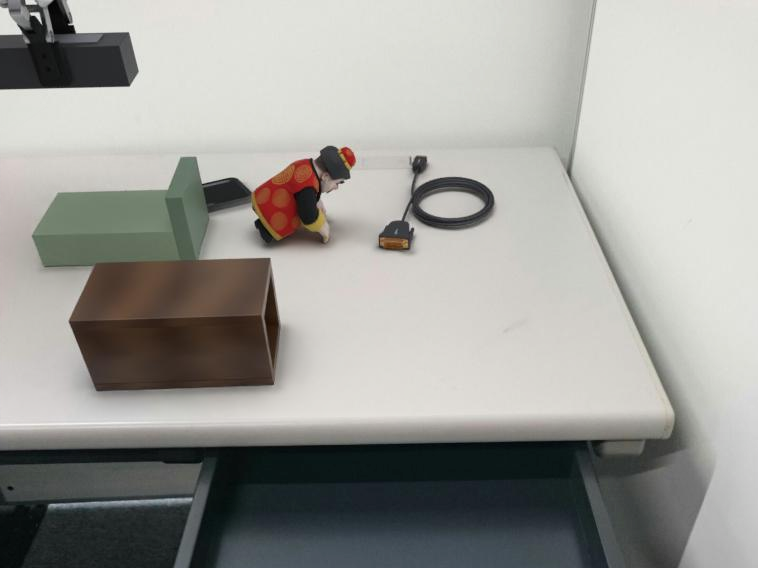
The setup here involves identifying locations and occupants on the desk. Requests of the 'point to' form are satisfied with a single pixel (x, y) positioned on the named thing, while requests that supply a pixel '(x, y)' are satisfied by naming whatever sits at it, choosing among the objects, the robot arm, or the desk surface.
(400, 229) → the cable
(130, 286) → the shelf
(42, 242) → the green l-shaped block
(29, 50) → the robot arm
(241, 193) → the phone
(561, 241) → the desk surface
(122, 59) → the black rectangular box
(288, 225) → the figurine
